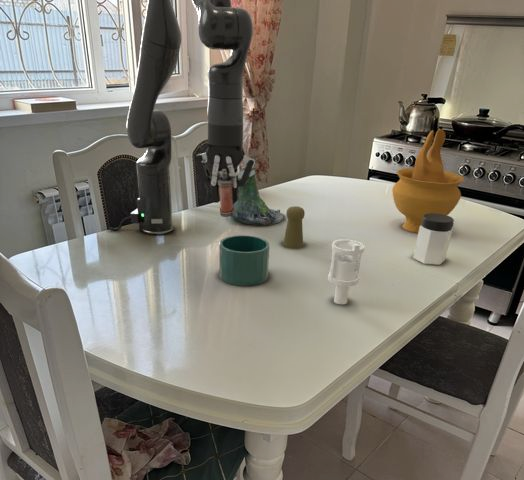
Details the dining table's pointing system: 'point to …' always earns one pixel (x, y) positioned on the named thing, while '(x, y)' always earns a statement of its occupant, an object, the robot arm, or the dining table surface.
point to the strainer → (345, 268)
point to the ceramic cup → (244, 260)
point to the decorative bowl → (426, 185)
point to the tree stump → (253, 205)
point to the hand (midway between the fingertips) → (225, 202)
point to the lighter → (225, 194)
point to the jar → (433, 238)
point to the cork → (294, 228)
